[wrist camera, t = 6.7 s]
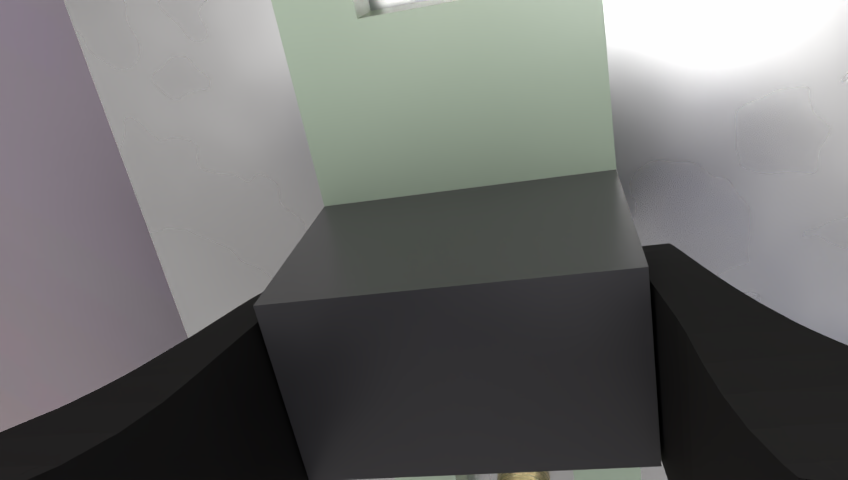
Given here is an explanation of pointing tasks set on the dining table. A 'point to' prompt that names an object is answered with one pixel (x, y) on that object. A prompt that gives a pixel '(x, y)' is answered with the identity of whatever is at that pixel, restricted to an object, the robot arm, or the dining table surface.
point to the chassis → (632, 127)
